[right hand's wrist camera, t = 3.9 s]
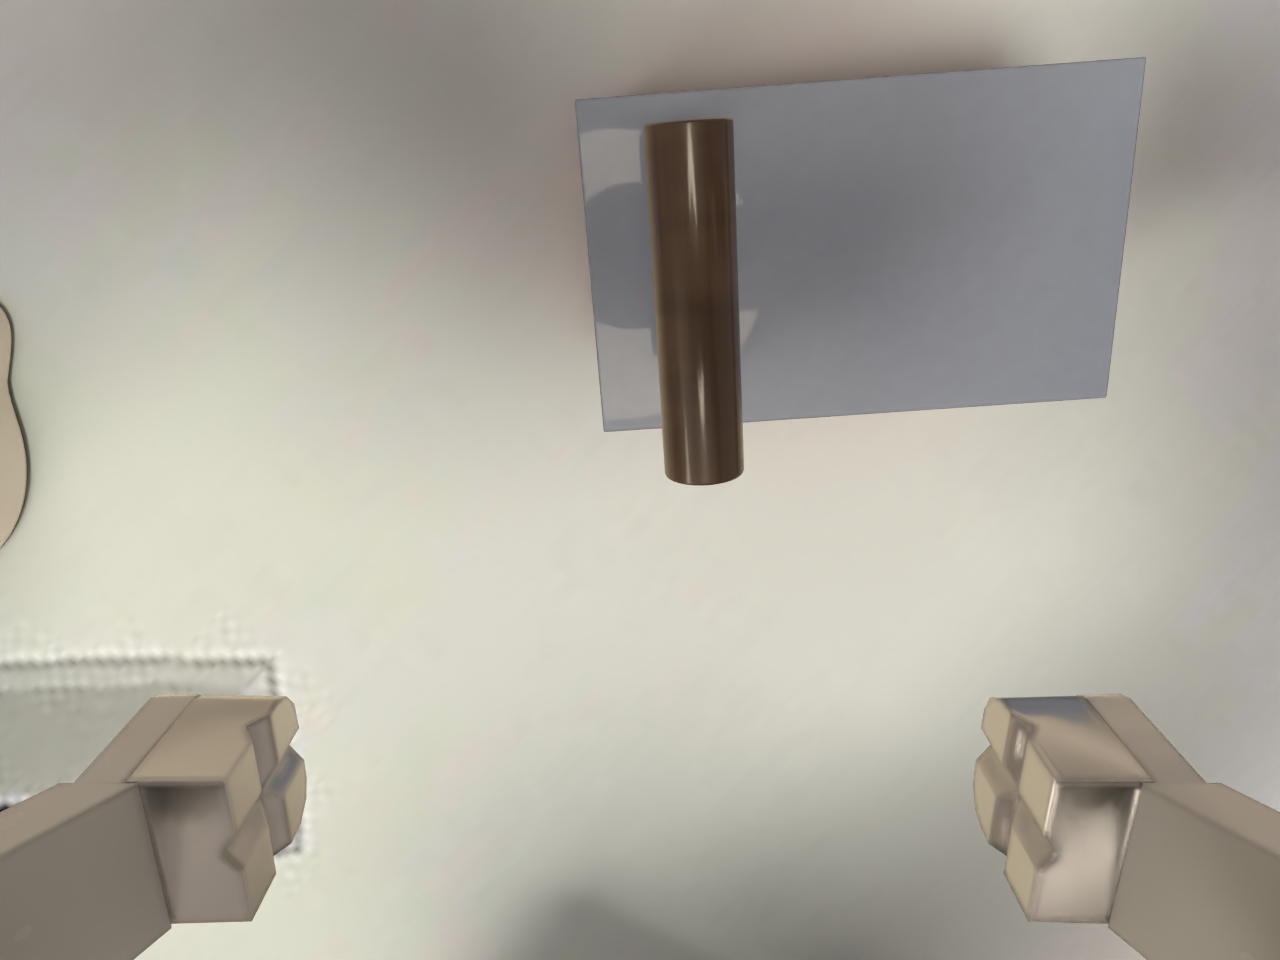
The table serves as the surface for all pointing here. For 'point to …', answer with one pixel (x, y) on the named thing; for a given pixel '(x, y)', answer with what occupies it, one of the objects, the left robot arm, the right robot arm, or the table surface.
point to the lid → (854, 248)
